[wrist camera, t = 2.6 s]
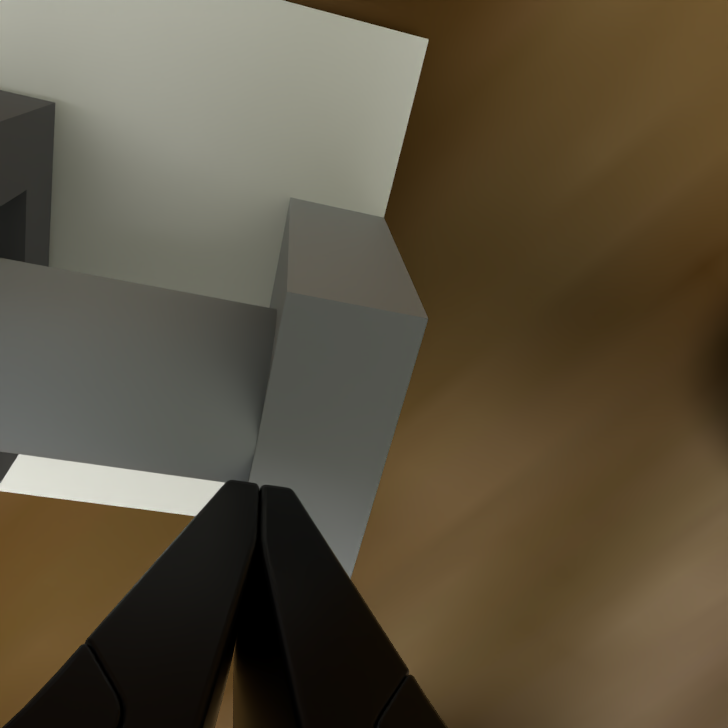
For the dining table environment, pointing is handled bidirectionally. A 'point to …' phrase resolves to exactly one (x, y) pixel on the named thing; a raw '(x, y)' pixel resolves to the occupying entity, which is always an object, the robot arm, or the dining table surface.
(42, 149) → the collar
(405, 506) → the dining table surface
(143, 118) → the pipe rig
